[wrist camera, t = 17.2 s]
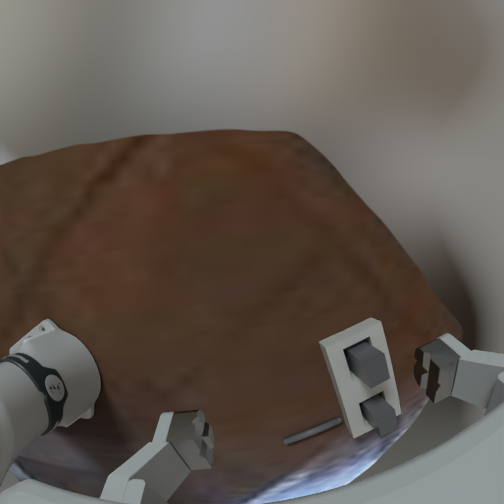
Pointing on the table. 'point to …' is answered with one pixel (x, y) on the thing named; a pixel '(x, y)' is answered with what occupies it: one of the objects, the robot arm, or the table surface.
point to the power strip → (358, 385)
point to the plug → (367, 363)
